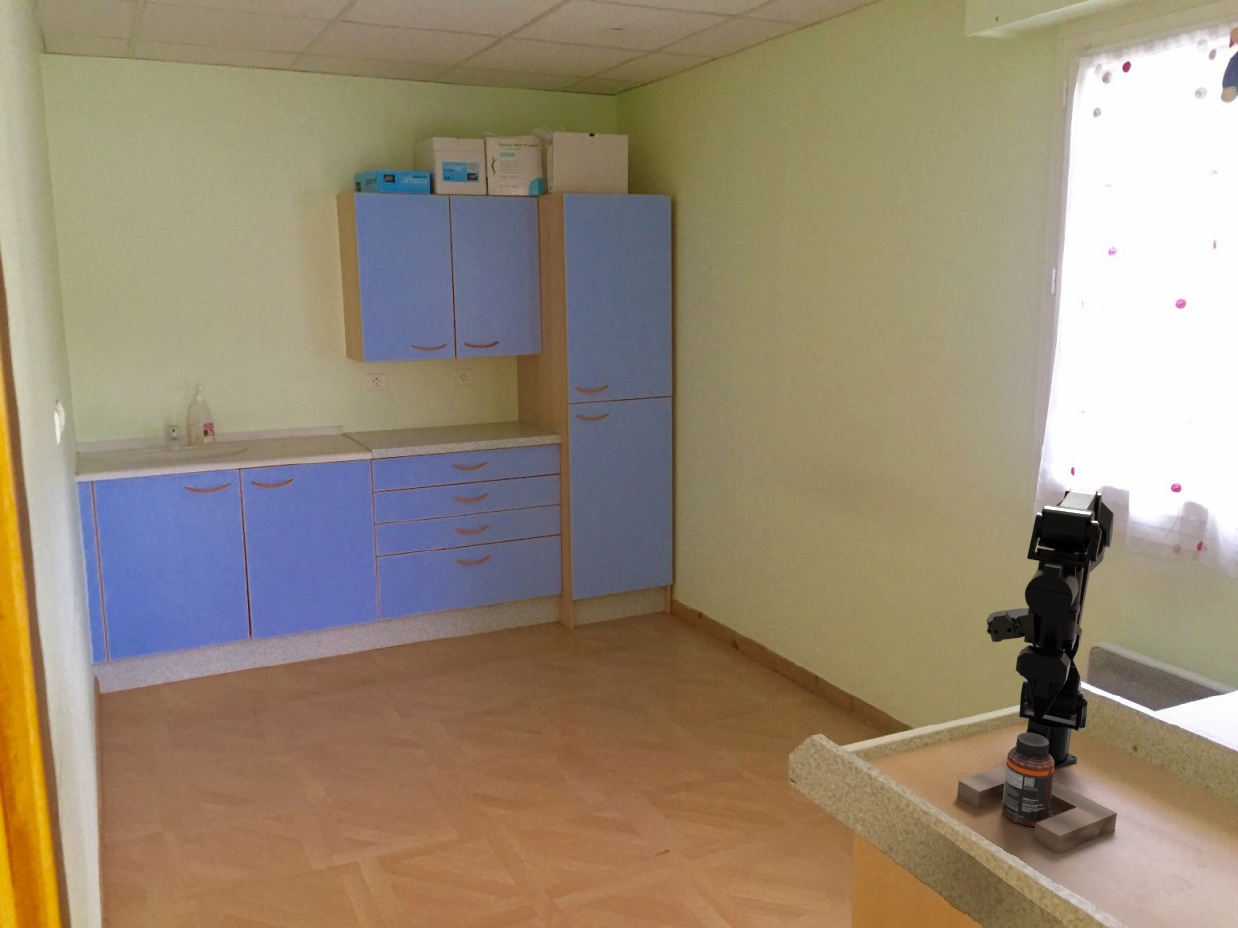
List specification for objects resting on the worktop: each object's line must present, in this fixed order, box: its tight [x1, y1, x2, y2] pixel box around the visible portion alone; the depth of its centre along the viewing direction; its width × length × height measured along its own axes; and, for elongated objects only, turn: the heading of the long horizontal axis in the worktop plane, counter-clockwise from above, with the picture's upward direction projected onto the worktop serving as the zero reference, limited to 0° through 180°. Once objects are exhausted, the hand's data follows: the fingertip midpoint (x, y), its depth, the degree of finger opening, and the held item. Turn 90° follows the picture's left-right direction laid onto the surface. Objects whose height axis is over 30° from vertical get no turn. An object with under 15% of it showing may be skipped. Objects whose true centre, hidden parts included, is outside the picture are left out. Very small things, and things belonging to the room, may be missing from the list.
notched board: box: [956, 764, 1118, 855], centre depth 141 cm, size 12×16×2 cm
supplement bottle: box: [1001, 732, 1055, 827], centre depth 139 cm, size 6×6×11 cm
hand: (1043, 705), depth 145 cm, fingers open, 9 cm apart
